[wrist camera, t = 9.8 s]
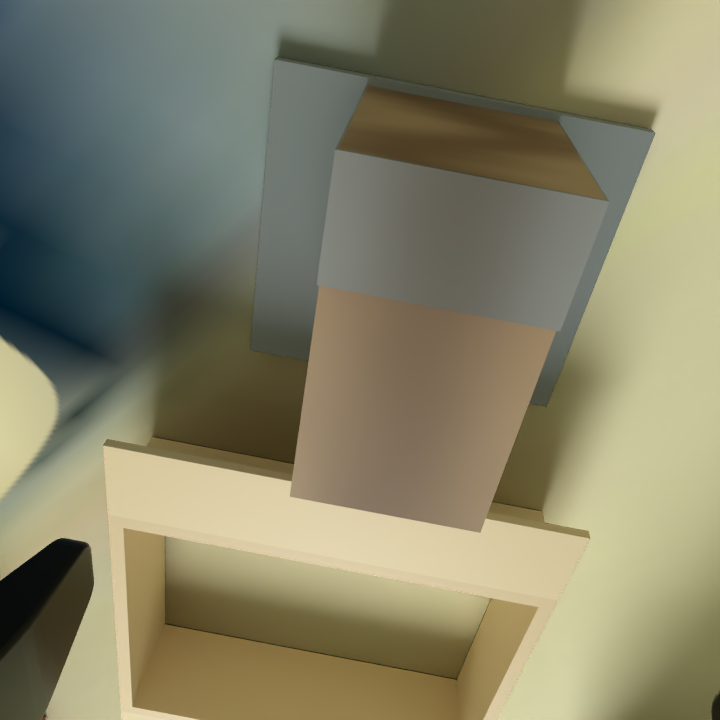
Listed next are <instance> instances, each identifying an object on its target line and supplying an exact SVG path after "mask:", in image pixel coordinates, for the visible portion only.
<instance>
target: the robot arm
mask: <svg viewBox="0 0 720 720" xmlns="http://www.w3.org/2000/svg"><path fill="white" fill-rule="evenodd" d="M93 586H94V576H93V565H92V554H91V548H90V546H89V544H88V543H86V542H82V541H77V540H72V539H66V538H60V539H57V540H55V541H53V542H52V543H51V544H49V545H48V546H46V547H45V548H44V549H42V550H41V551H40V552H38V553H37V554H36V555H34V556H33V557H32V558H30V559H29V560H28V561H26V562H25V563H24V564H22V565H21V566H20V567H18V568H17V569H16V570H14V571H13V572H11V573H10V574H9V575H7V576H6V577H5V578H3V579H2V580H1V581H0V720H42V718H43V715H44V713H45V711H46V709H47V707H48V705H49V702H50V700H51V697H52V695H53V693H54V690H55V688H56V685H57V682H58V680H59V677H60V675H61V672H62V670H63V667H64V665H65V662H66V659H67V657H68V654H69V652H70V649H71V647H72V644H73V641H74V639H75V636H76V634H77V631H78V629H79V626H80V624H81V621H82V618H83V616H84V613H85V611H86V608H87V606H88V603H89V600H90V598H91V595H92V591H93ZM712 720H720V691H719V692H718V693H717V695H716V696H715V698H714V700H713V703H712Z"/></svg>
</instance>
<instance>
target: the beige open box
mask: <svg viewBox="0 0 720 720" xmlns="http://www.w3.org/2000/svg"><path fill="white" fill-rule="evenodd" d="M103 451H104V466H105V481H106V496H107V511H108V526H109V540H110V555H111V570H112V585H113V600H114V614H115V629H116V644H117V659H118V674H119V689H120V703H121V718H122V720H497V719H498V717H499V715H500V713H501V711H502V709H503V707H504V705H505V703H506V701H507V699H508V697H509V695H510V693H511V691H512V690H513V688H514V686H515V684H516V682H517V680H518V678H519V676H520V674H521V672H522V670H523V668H524V666H525V664H526V662H527V660H528V658H529V657H530V655H531V653H532V651H533V649H534V647H535V645H536V643H537V641H538V639H539V637H540V635H541V633H542V631H543V629H544V627H545V626H546V624H547V622H548V620H549V618H550V616H551V614H552V612H553V610H554V608H555V606H556V604H557V602H558V600H559V598H560V596H561V594H562V593H563V591H564V589H565V587H566V585H567V583H568V581H569V579H570V577H571V575H572V573H573V571H574V569H575V567H576V565H577V563H578V561H579V560H580V558H581V556H582V554H583V552H584V550H585V548H586V546H587V544H588V542H589V540H590V536H589V532H588V531H585V530H580V529H574V528H569V527H564V526H559V525H553V524H548V523H544V517H543V512H542V511H536V510H531V509H526V508H521V507H515V506H510V505H505V504H500V503H494V502H492V503H491V506H490V508H489V511H488V514H487V516H486V519H485V522H484V524H483V527H482V530H481V532H480V533H478V532H473V531H468V530H463V529H457V528H452V527H447V526H442V525H436V524H431V523H426V522H420V521H415V520H410V519H405V518H399V517H394V516H389V515H383V514H378V513H373V512H368V511H362V510H357V509H352V508H347V507H341V506H336V505H331V504H325V503H320V502H315V501H310V500H304V499H299V498H294V497H290V490H291V483H292V476H293V469H294V464H291V463H285V462H280V461H275V460H270V459H264V458H259V457H254V456H249V455H244V454H238V453H233V452H228V451H223V450H217V449H212V448H207V447H202V446H196V445H191V444H186V443H181V442H176V441H170V440H165V439H160V438H155V437H152V438H151V440H150V441H149V443H148V445H147V447H145V446H140V445H135V444H130V443H125V442H119V441H114V440H109V439H107V440H106V442H105V443H104V445H103ZM165 536H168V537H173V538H179V539H184V540H189V541H194V542H200V543H205V544H210V545H215V546H221V547H226V548H231V549H236V550H241V551H247V552H252V553H257V554H262V555H268V556H273V557H278V558H283V559H289V560H294V561H299V562H304V563H310V564H315V565H320V566H325V567H331V568H336V569H341V570H346V571H352V572H357V573H362V574H367V575H373V576H378V577H383V578H388V579H393V580H399V581H404V582H409V583H414V584H420V585H425V586H430V587H435V588H441V589H446V590H451V591H456V592H462V593H467V594H472V595H477V596H483V597H488V598H491V601H490V603H489V605H488V608H487V610H486V612H485V615H484V617H483V620H482V622H481V624H480V627H479V629H478V631H477V634H476V636H475V638H474V641H473V643H472V645H471V648H470V650H469V652H468V655H467V657H466V659H465V662H464V664H463V666H462V669H461V671H460V673H459V676H458V678H457V680H455V679H450V678H444V677H439V676H434V675H429V674H423V673H418V672H413V671H408V670H402V669H397V668H392V667H387V666H381V665H376V664H371V663H366V662H360V661H355V660H350V659H345V658H339V657H334V656H329V655H324V654H318V653H313V652H308V651H303V650H297V649H292V648H287V647H282V646H276V645H271V644H266V643H261V642H255V641H250V640H245V639H240V638H234V637H229V636H224V635H219V634H213V633H208V632H203V631H197V630H192V629H187V628H182V627H176V626H171V625H166V624H165Z"/></svg>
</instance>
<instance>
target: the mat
mask: <svg viewBox="0 0 720 720" xmlns="http://www.w3.org/2000/svg"><path fill="white" fill-rule="evenodd" d="M366 85H367V86H373V87H378V88H383V89H388V90H393V91H399V92H404V93H409V94H414V95H420V96H425V97H430V98H435V99H441V100H446V101H451V102H456V103H462V104H467V105H472V106H477V107H482V108H488V109H493V110H498V111H503V112H509V113H514V114H519V115H524V116H530V117H535V118H540V119H545V120H550V121H556V122H560V124H561V126H562V127H563V129H564V130H565V132H566V134H567V135H568V137H569V138H570V140H571V141H572V143H573V145H574V146H575V148H576V149H577V151H578V153H579V154H580V156H581V157H582V159H583V160H584V162H585V164H586V165H587V167H588V168H589V170H590V172H591V173H592V175H593V176H594V178H595V179H596V181H597V183H598V184H599V186H600V187H601V189H602V191H603V192H604V194H605V195H606V197H607V198H608V200H609V205H608V207H607V210H606V213H605V215H604V218H603V220H602V223H601V226H600V228H599V231H598V234H597V236H596V239H595V241H594V244H593V247H592V249H591V252H590V255H589V257H588V260H587V262H586V265H585V268H584V270H583V273H582V276H581V278H580V281H579V284H578V286H577V289H576V291H575V294H574V297H573V299H572V302H571V305H570V307H569V310H568V312H567V315H566V318H565V320H564V323H563V326H562V328H561V331H556V333H555V336H554V338H553V341H552V344H551V346H550V349H549V352H548V354H547V357H546V360H545V362H544V365H543V368H542V370H541V373H540V376H539V378H538V381H537V383H536V386H535V389H534V391H533V394H532V397H531V399H530V402H529V403H530V404H535V405H540V406H545V407H546V406H547V404H548V401H549V399H550V396H551V394H552V391H553V389H554V386H555V384H556V381H557V379H558V376H559V374H560V371H561V369H562V366H563V364H564V361H565V359H566V356H567V354H568V351H569V349H570V346H571V344H572V341H573V339H574V336H575V334H576V331H577V329H578V326H579V324H580V321H581V318H582V316H583V313H584V311H585V308H586V306H587V303H588V301H589V298H590V296H591V293H592V291H593V288H594V286H595V283H596V281H597V278H598V276H599V273H600V271H601V268H602V266H603V263H604V261H605V258H606V256H607V253H608V251H609V248H610V246H611V243H612V241H613V238H614V236H615V233H616V231H617V228H618V226H619V223H620V221H621V218H622V216H623V213H624V211H625V208H626V206H627V203H628V201H629V198H630V196H631V193H632V190H633V188H634V185H635V183H636V180H637V178H638V175H639V173H640V170H641V168H642V165H643V163H644V160H645V158H646V155H647V153H648V150H649V148H650V145H651V143H652V140H653V138H654V135H655V132H654V131H653V130H652V129H648V128H642V127H637V126H632V125H627V124H622V123H617V122H611V121H606V120H601V119H596V118H591V117H586V116H580V115H575V114H570V113H565V112H560V111H555V110H549V109H544V108H539V107H534V106H529V105H523V104H518V103H513V102H508V101H503V100H498V99H492V98H487V97H482V96H477V95H472V94H467V93H461V92H456V91H451V90H446V89H441V88H436V87H430V86H425V85H420V84H415V83H410V82H405V81H399V80H394V79H389V78H384V77H379V76H374V75H368V74H363V73H358V72H353V71H348V70H343V69H337V68H332V67H327V66H322V65H317V64H311V63H306V62H301V61H296V60H291V59H286V58H280V57H277V58H275V59H274V69H273V81H272V93H271V105H270V117H269V129H268V141H267V153H266V165H265V177H264V189H263V201H262V212H261V224H260V236H259V248H258V260H257V272H256V284H255V296H254V308H253V320H252V332H251V344H250V350H253V351H258V352H264V353H269V354H274V355H279V356H285V357H290V358H295V359H300V360H305V361H309V355H310V348H311V341H312V333H313V326H314V319H315V312H316V305H317V298H318V291H319V285H316V284H317V277H318V270H319V263H320V255H321V248H322V241H323V234H324V227H325V219H326V212H327V205H328V198H329V190H330V183H331V176H332V169H333V161H334V154H335V149H336V147H337V144H338V142H339V140H340V138H341V136H342V134H343V132H344V130H345V128H346V126H347V124H348V122H349V120H350V118H351V115H352V113H353V111H354V109H355V107H356V105H357V103H358V101H359V99H360V97H361V95H362V93H363V91H364V89H365V86H366Z"/></svg>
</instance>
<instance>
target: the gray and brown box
mask: <svg viewBox="0 0 720 720" xmlns="http://www.w3.org/2000/svg"><path fill="white" fill-rule="evenodd" d="M608 205H609V200H608V198H607V197H606V195H605V194H604V192H603V191H602V189H601V187H600V186H599V184H598V183H597V181H596V179H595V178H594V176H593V175H592V173H591V172H590V170H589V168H588V167H587V165H586V164H585V162H584V160H583V159H582V157H581V156H580V154H579V153H578V151H577V149H576V148H575V146H574V145H573V143H572V141H571V140H570V138H569V137H568V135H567V134H566V132H565V130H564V129H563V127H562V126H561V124H560V122H556V121H550V120H545V119H540V118H535V117H530V116H524V115H519V114H514V113H509V112H503V111H498V110H493V109H488V108H482V107H477V106H472V105H467V104H462V103H456V102H451V101H446V100H441V99H435V98H430V97H425V96H420V95H414V94H409V93H404V92H399V91H393V90H388V89H383V88H378V87H373V86H367V85H366V86H365V89H364V91H363V93H362V95H361V97H360V99H359V101H358V103H357V105H356V107H355V109H354V111H353V113H352V115H351V118H350V120H349V122H348V124H347V126H346V128H345V130H344V132H343V134H342V136H341V138H340V140H339V142H338V144H337V147H336V149H335V154H334V161H333V169H332V176H331V183H330V190H329V198H328V205H327V212H326V219H325V227H324V234H323V241H322V248H321V255H320V263H319V270H318V277H317V284H316V285H319V291H318V298H317V305H316V312H315V319H314V326H313V333H312V341H311V348H310V355H309V362H308V369H307V376H306V383H305V390H304V397H303V405H302V412H301V419H300V426H299V433H298V440H297V447H296V454H295V461H294V469H293V476H292V483H291V490H290V497H294V498H299V499H304V500H310V501H315V502H320V503H325V504H331V505H336V506H341V507H347V508H352V509H357V510H362V511H368V512H373V513H378V514H383V515H389V516H394V517H399V518H405V519H410V520H415V521H420V522H426V523H431V524H436V525H442V526H447V527H452V528H457V529H463V530H468V531H473V532H478V533H480V532H481V530H482V527H483V524H484V522H485V519H486V516H487V514H488V511H489V508H490V506H491V503H492V500H493V498H494V495H495V492H496V490H497V487H498V484H499V482H500V479H501V477H502V474H503V471H504V469H505V466H506V463H507V461H508V458H509V455H510V453H511V450H512V447H513V445H514V442H515V439H516V437H517V434H518V431H519V429H520V426H521V423H522V421H523V418H524V415H525V413H526V410H527V407H528V405H529V402H530V399H531V397H532V394H533V391H534V389H535V386H536V383H537V381H538V378H539V376H540V373H541V370H542V368H543V365H544V362H545V360H546V357H547V354H548V352H549V349H550V346H551V344H552V341H553V338H554V336H555V333H556V331H561V328H562V326H563V323H564V320H565V318H566V315H567V312H568V310H569V307H570V305H571V302H572V299H573V297H574V294H575V291H576V289H577V286H578V284H579V281H580V278H581V276H582V273H583V270H584V268H585V265H586V262H587V260H588V257H589V255H590V252H591V249H592V247H593V244H594V241H595V239H596V236H597V234H598V231H599V228H600V226H601V223H602V220H603V218H604V215H605V213H606V210H607V207H608Z"/></svg>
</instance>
